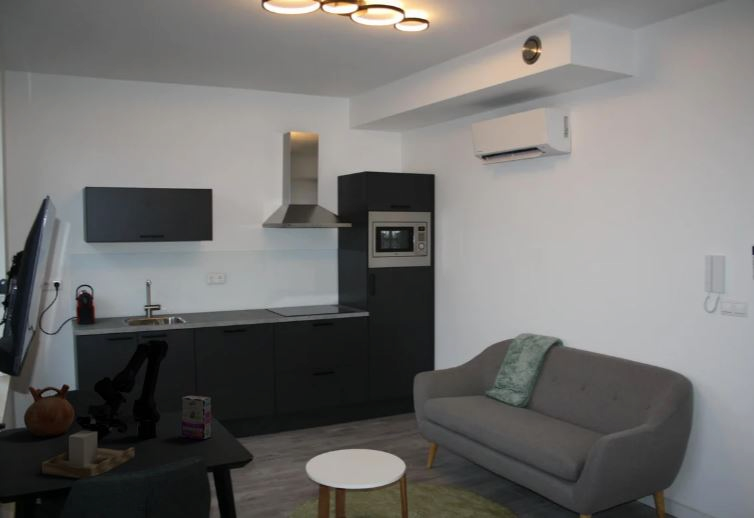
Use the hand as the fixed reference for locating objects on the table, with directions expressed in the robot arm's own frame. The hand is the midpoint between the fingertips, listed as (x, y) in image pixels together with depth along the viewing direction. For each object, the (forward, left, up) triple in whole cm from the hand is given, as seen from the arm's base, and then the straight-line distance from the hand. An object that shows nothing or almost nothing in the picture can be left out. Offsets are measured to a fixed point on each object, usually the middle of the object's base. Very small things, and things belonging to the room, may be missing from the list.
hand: (90, 445), depth 234 cm
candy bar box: (-40, -17, -7) cm, 44 cm away
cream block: (+2, +3, -5) cm, 6 cm away
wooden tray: (0, 0, -7) cm, 7 cm away
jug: (+14, -46, -7) cm, 49 cm away
